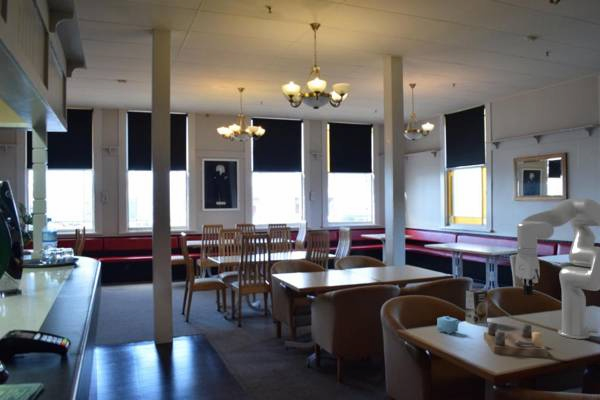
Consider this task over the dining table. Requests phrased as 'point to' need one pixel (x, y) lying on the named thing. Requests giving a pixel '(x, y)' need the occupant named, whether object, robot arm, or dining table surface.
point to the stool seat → (512, 342)
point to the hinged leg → (535, 340)
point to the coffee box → (476, 306)
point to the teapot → (447, 324)
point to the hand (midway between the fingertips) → (528, 294)
